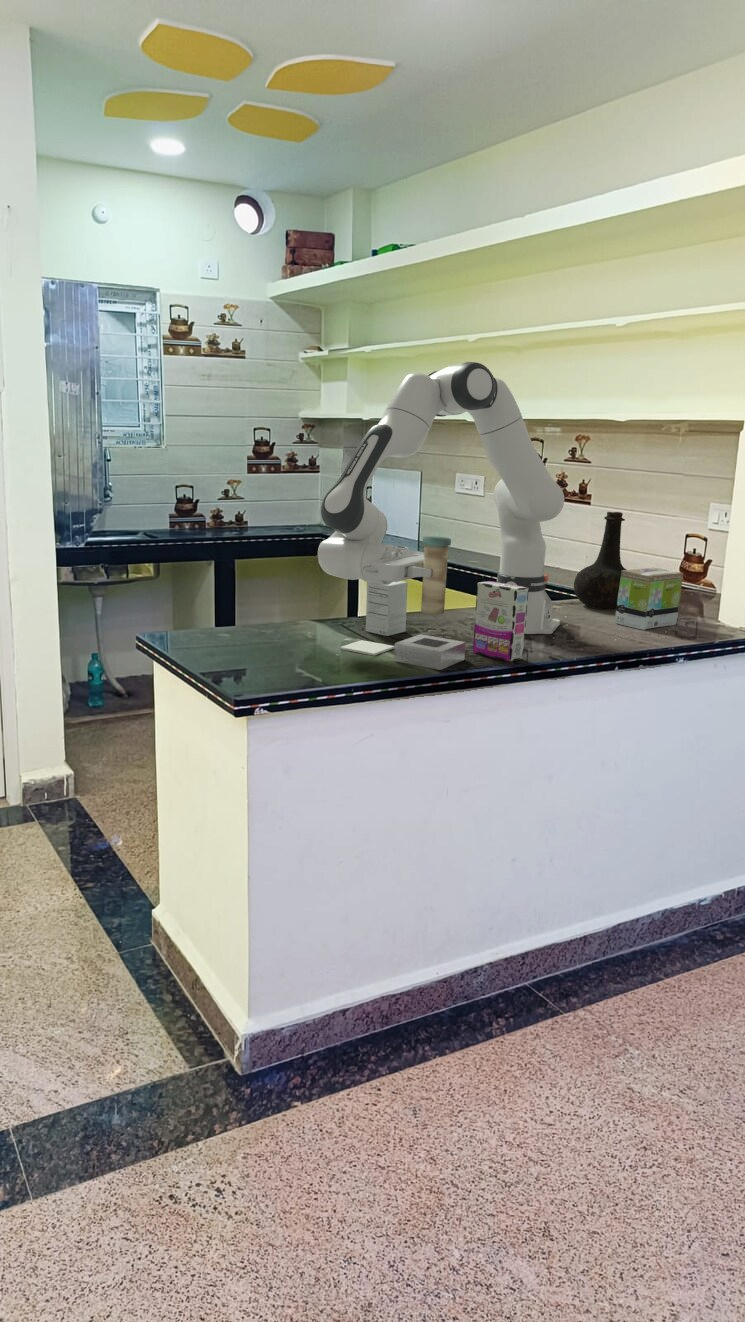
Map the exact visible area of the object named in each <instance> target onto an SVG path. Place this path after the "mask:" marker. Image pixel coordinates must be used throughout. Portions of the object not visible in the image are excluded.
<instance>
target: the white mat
mask: <svg viewBox="0 0 745 1322" xmlns="http://www.w3.org/2000/svg"><path fill="white" fill-rule="evenodd" d="M340 650H342V651H348V652H349V651H350V652H351V653H358V654H363V655H369V656H377V655H380V654H383V653H386V652H388V651H391V650H395V645H391V644H390V645H389V644H384V643H379V642H373V641H369V640H368V641H367V640H362V639H361V640H358V641H355V642H354V641H353V642H351V643H349V644H345V645H342V646H340Z"/></svg>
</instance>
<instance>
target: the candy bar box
mask: <svg viewBox="0 0 745 1322" xmlns="http://www.w3.org/2000/svg"><path fill="white" fill-rule="evenodd" d="M476 585H477V588H476V601H475V614H474V628H473V629H474V631H473V643H472V653H475V654H478V655H482V656H485V657H490V658H494V659H498V660H501V661H506V662H509V663H511V662H516V661H520V660H521V661H522V659H524V650H525V649H524V648H525V637H526V636H525V635H526V634H525V627H526V615H527V603H528V590H529V588H527V587H522V586H517V585H510V584H505V583H499V582H497V581H491V580H488V581H486V580H485V581H481V582H477V584H476Z"/></svg>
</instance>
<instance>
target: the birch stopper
mask: <svg viewBox="0 0 745 1322" xmlns="http://www.w3.org/2000/svg"><path fill="white" fill-rule="evenodd" d="M422 544H423V545H424V567H423V568H431V569H433V576H432V577H429V578H427V577H422V585H421V586H422V587H421V602H420V603H421V604H420V605H421V606H420V607H421V608H420V613H421V614H425V615H433V616H436V615H437V616H439V615H440V616H441V615H444V614H445V605H446V604H445V603H446V590H447V589H446V588H447V587H446V586H447V573H448V558H449V557H448V556H449V555H448V554H449V553H448V552H449V547H450V546H451V544H452V538H449V537H444V536H424V537H422Z"/></svg>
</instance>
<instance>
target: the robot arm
mask: <svg viewBox="0 0 745 1322" xmlns="http://www.w3.org/2000/svg"><path fill="white" fill-rule="evenodd" d="M466 412H467V413H468V414H469V415H470V416H471V417H472V418H473V420H474V424H475V428H476V430H477V432H478V435H479V437H480V440H481V441H480V442H481V443H482V446H483V448H484V451H485V453H486V456H487V459H488V461H489V464H490V465H491V466H492V467H493V468H494V470H495V471H496V472H497V474H498V475H499V477H500V478H501V479H500V480H499V481H498V482H497V483H496V485H495V486H494V490H493V501H494V503H495V505H496V508H497V513H498V520H499V521H498V522H499V529H500V539H501V541H500V542H501V543H500V544H501V545H500V547H501V548H500V562H499V571H498V573H497V577H496V582H499V583H505V584H510V585H517V586H522V587H527V588H529V590H528V603H527V615H526V627H525V635H536V634H537V635H538V634H540V635H542V634H543V635H552V634H553V633H554V631H556V629H557V628H558V627H559V626H560V625H561V620H560V619H558V618H553V607H554V605H553V601H552V599H551V598H550V596H549V595H548V594H547V592H546V590H545V589H546V583H548V581H549V575H548V574H544V569H545V560H546V549H547V547H546V545H547V544H546V542H545V539H544V537H543V534H542V527H541V523H542V522H547V521H550V520H553V519H555V518H556V517H558V515H559V514H560V513H561V511H562V510H563V508H564V506H565V505H564V504H565V494H564V492H563V489H562V488H561V486H560V485H559V484H558V483H557V482H556V481H555V480H554V478H553V476H552V475H551V474H550V472H549V470H548V468H547V466H546V465H545V463H544V461H543V460H542V459H541V457H540V455H539V454H538V452H537V450H536V448H535V446H534V444H533V442H532V439H531V437H530V434H529V431H528V428H527V427H526V423H525V421H524V418H523V416H522V412H521V410H520V408H519V405H518V404H517V401H516V399H515V397H514V396H513V393H512V392H511V390H510V388H509V387H508V385H507V384H506V382H505V381H504V380H503V379H501V378H497V377H495V376H494V375H493V374H492V372H491V371H490V369H489V368H488V366H486V365H485V364H482V363H481V362H475V361H466V362H463V363H456V364H452V365H449V366H446V367H443V369H440V370H436V371H433V372H431V373H429V374H425V373H421V372H413V373H409V374H407V375H406V376H405V377H404V378H403V379H402V381H401V382H400V384H399V385H398V386H397V388H396V390H395V391H394V393H393V395H392V396H391V398H390V400H389V402H388V404H387V406H386V408H385V411H384V413H383V415H382V417H381V418H380V420H379V422H378V423H377V424H376V425H373V426H372V427H371V428H370V429H369V430H368V431H367V432H366V434H365V435H364V436H363V438H362V439H361V441H360V442H359V444H358V446H357V448H356V450H355V451H354V453H353V454H352V456H351V457H350V459H349V461H348V462H347V464H346V467H345V468H344V469H343V471H342V473H341V475H340V477H339V478H338V479H337V481H336V482H335V483H334V485H333V486H332V487H331V488H330V489H329V490H328V491H327V493H326V494H325V496H324V497H323V500H322V502H321V506H320V516H321V519H322V521H323V523H324V524H325V525H326V527H328V528H330V529H332V530H333V531H334V532H333V533H332V534H331V535H330V536H329V537H328V538H327V539H325V540H322V541H320V543H319V546H318V549H317V560H318V564H319V566H320V568H321V569H322V571H323V572H324V573H326V574H328V575H330V576H332V577H337V578H341V579H345V580H352V581H354V580H362V581H364V582H366V583H367V582H371V583H378V584H385V585H389V584H391V583H392V582H399V581H407V580H409V579H413V578H423V577H427V578H429V577H432V576H433V569H431V568H423V567H424V552H423V551H419V550H413V549H412V550H410V549H409V547H408V546H403V545H401V546H399V545H398V546H396V545H394V544H388V543H387V544H385V543H383V542H384V538H385V536H386V533H387V529H388V520H387V516H385V514H384V513H383V512H382V511H381V509H379V508H378V507H377V506H375V505H374V504H373V503H372V502H371V501H370V500H368V499H367V497H366V490H367V487H368V485H369V484H370V482H371V480H372V478H373V476H374V475H375V473H376V471H377V470H378V468H379V466H380V464H381V462H383V460H384V459H386V458H388V457H392V458H399V459H404V458H409V457H412V456H413V455H415V454H417V453H418V452H419V451H420V449H422V446H424V443H425V442H426V440H427V437H428V434H429V432H430V430H431V428H432V425H433V423H434V421H435V420H434V419H435V418H436V417H446V416H458V415H461V414H462V415H463V414H464V413H466Z"/></svg>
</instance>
